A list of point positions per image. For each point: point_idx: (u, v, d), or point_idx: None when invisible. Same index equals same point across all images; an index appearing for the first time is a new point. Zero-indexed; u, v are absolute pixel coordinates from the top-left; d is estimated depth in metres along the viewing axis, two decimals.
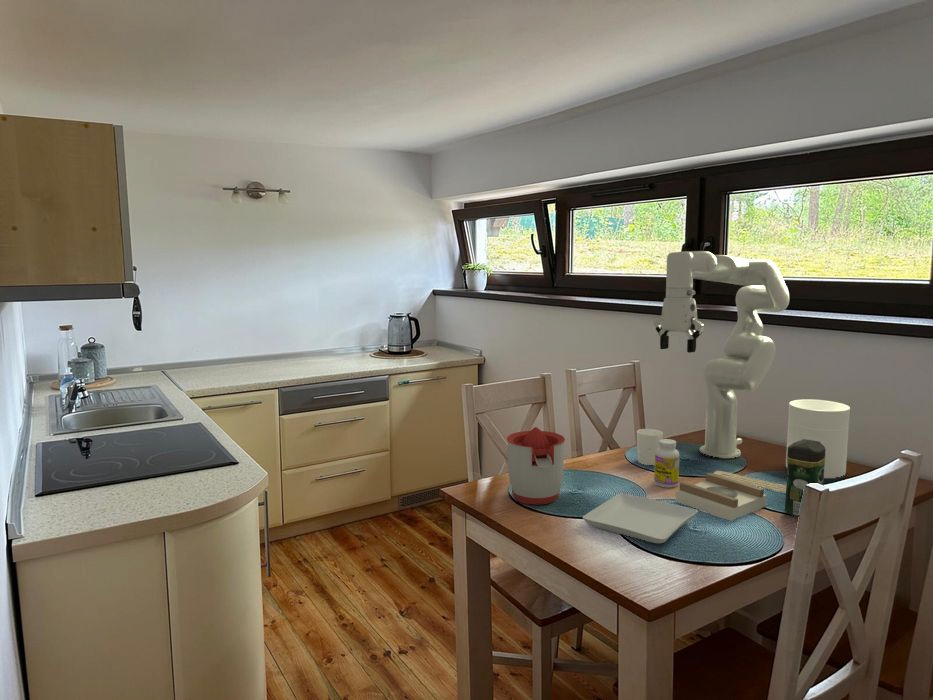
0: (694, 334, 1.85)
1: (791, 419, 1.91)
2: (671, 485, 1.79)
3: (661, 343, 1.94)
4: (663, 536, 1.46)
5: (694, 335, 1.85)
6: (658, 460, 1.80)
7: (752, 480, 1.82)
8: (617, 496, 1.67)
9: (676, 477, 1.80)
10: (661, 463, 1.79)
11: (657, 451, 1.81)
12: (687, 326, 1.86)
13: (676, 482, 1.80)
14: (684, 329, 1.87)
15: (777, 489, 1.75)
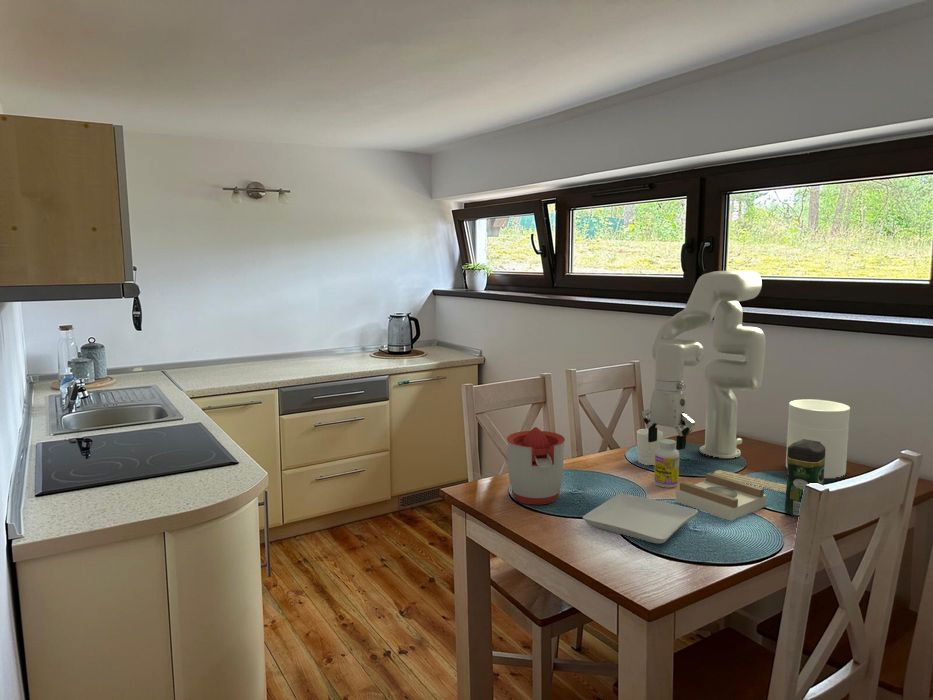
0: (684, 431, 1.74)
1: (791, 419, 1.91)
2: (671, 485, 1.79)
3: (649, 436, 1.83)
4: (663, 536, 1.46)
5: (684, 432, 1.74)
6: (658, 460, 1.80)
7: (752, 480, 1.82)
8: (617, 496, 1.67)
9: (676, 477, 1.80)
10: (661, 463, 1.79)
11: (657, 451, 1.81)
12: (676, 422, 1.74)
13: (676, 482, 1.80)
14: (673, 425, 1.75)
15: (777, 489, 1.75)
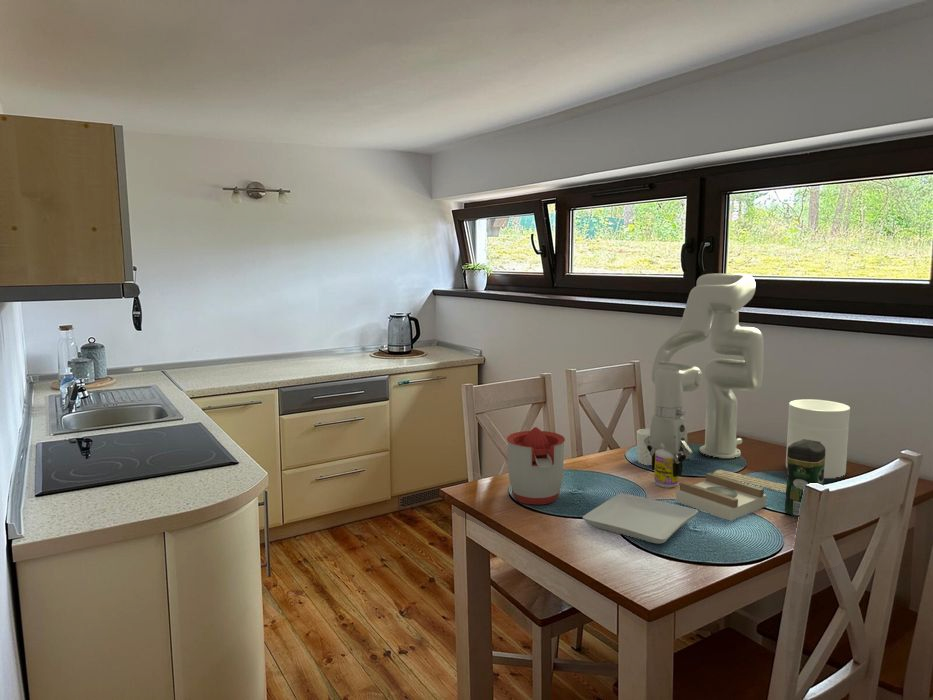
0: (680, 458, 1.76)
1: (791, 419, 1.91)
2: (671, 485, 1.79)
3: (653, 464, 1.84)
4: (663, 536, 1.46)
5: (680, 460, 1.76)
6: (658, 460, 1.80)
7: (753, 479, 1.82)
8: (617, 496, 1.67)
9: (676, 477, 1.79)
10: (661, 463, 1.79)
11: (657, 451, 1.81)
12: (676, 448, 1.76)
13: (676, 482, 1.80)
14: (673, 451, 1.77)
15: (777, 488, 1.76)
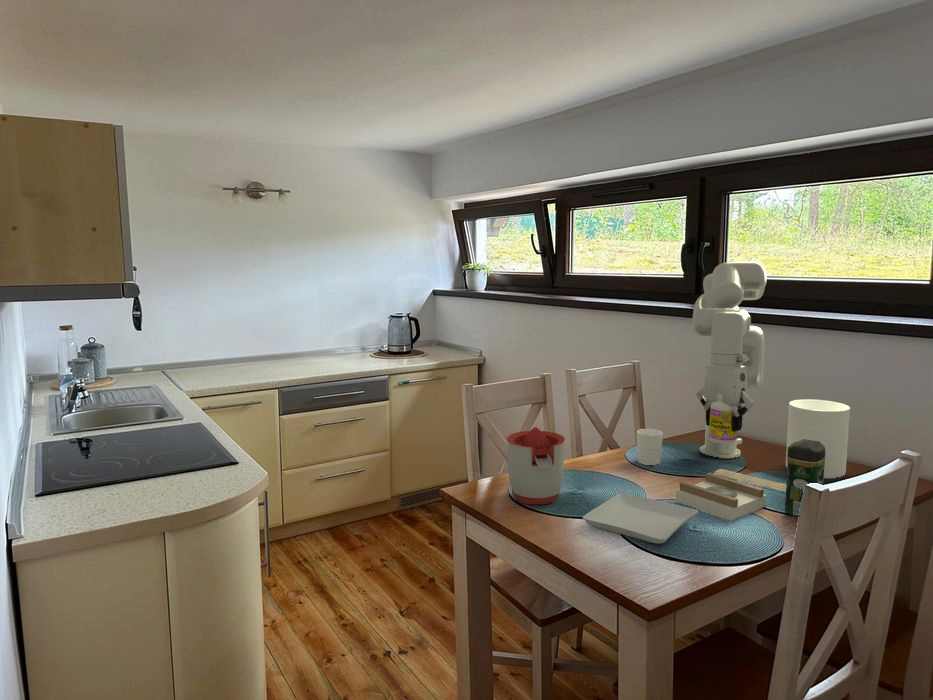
0: (740, 411, 1.59)
1: (791, 419, 1.91)
2: (729, 441, 1.61)
3: (707, 419, 1.66)
4: (663, 536, 1.46)
5: (741, 413, 1.59)
6: (714, 413, 1.62)
7: (753, 479, 1.83)
8: (617, 496, 1.67)
9: (735, 432, 1.62)
10: (718, 417, 1.61)
11: (713, 404, 1.63)
12: (736, 399, 1.58)
13: (734, 438, 1.62)
14: (733, 402, 1.59)
15: (778, 488, 1.76)
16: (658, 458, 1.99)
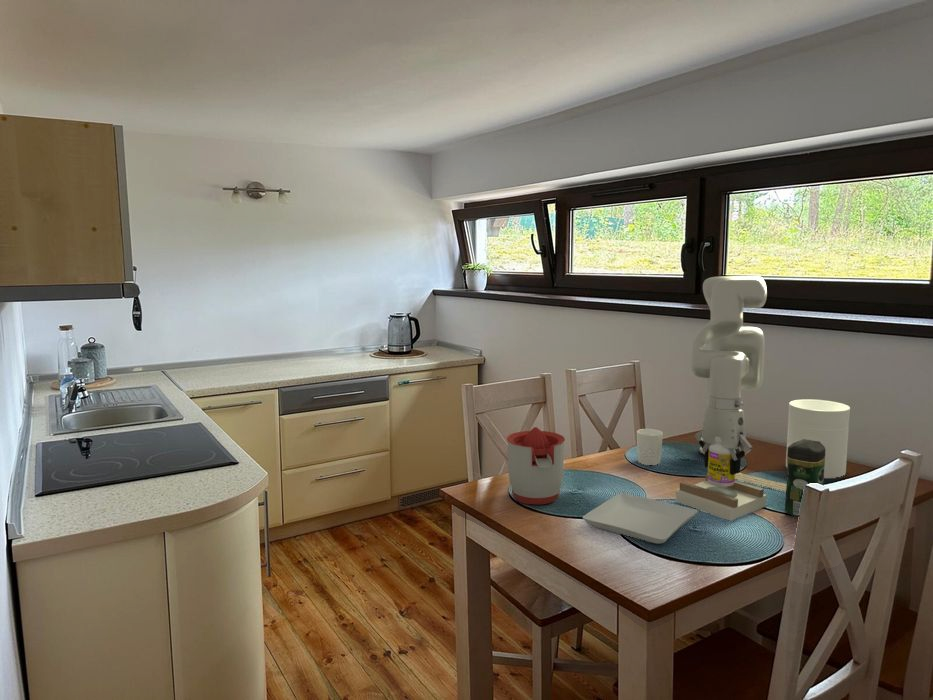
0: (738, 454, 1.60)
1: (791, 419, 1.91)
2: (727, 484, 1.63)
3: (706, 461, 1.68)
4: (663, 536, 1.46)
5: (739, 457, 1.60)
6: (713, 456, 1.64)
7: (754, 478, 1.83)
8: (617, 496, 1.67)
9: (733, 475, 1.63)
10: (716, 460, 1.63)
11: (711, 446, 1.65)
12: (734, 443, 1.60)
13: (733, 480, 1.64)
14: (731, 446, 1.61)
15: (778, 488, 1.76)
16: (658, 458, 1.99)
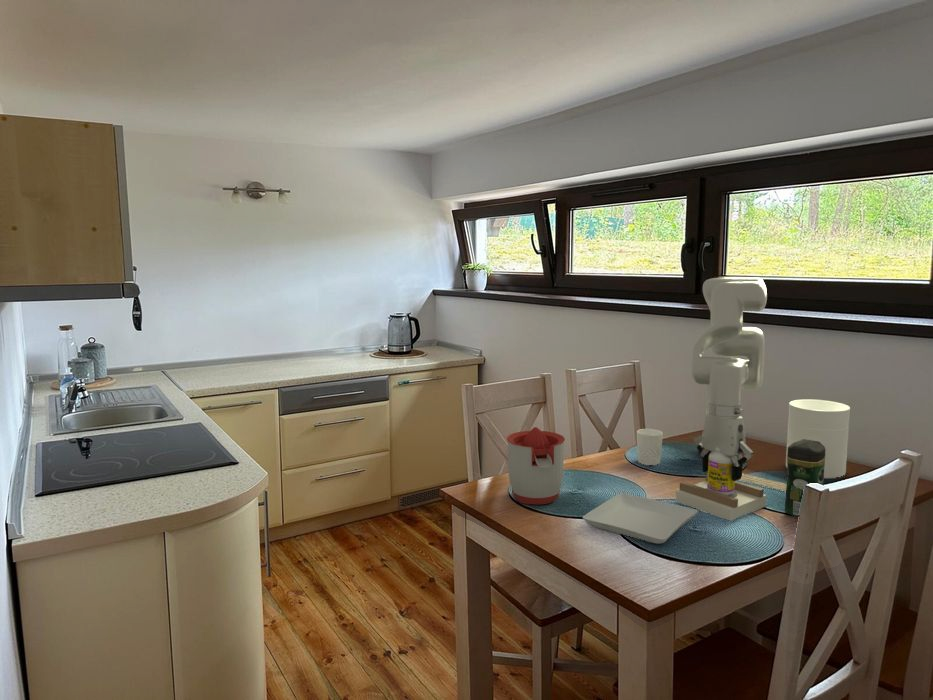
0: (740, 461, 1.60)
1: (791, 419, 1.91)
2: (727, 493, 1.64)
3: (704, 465, 1.68)
4: (663, 536, 1.46)
5: (741, 462, 1.60)
6: (713, 465, 1.64)
7: (754, 478, 1.83)
8: (617, 496, 1.67)
9: (733, 484, 1.64)
10: (716, 469, 1.64)
11: (711, 455, 1.65)
12: (734, 450, 1.60)
13: (732, 489, 1.64)
14: (730, 453, 1.61)
15: (778, 487, 1.76)
16: (658, 458, 1.99)
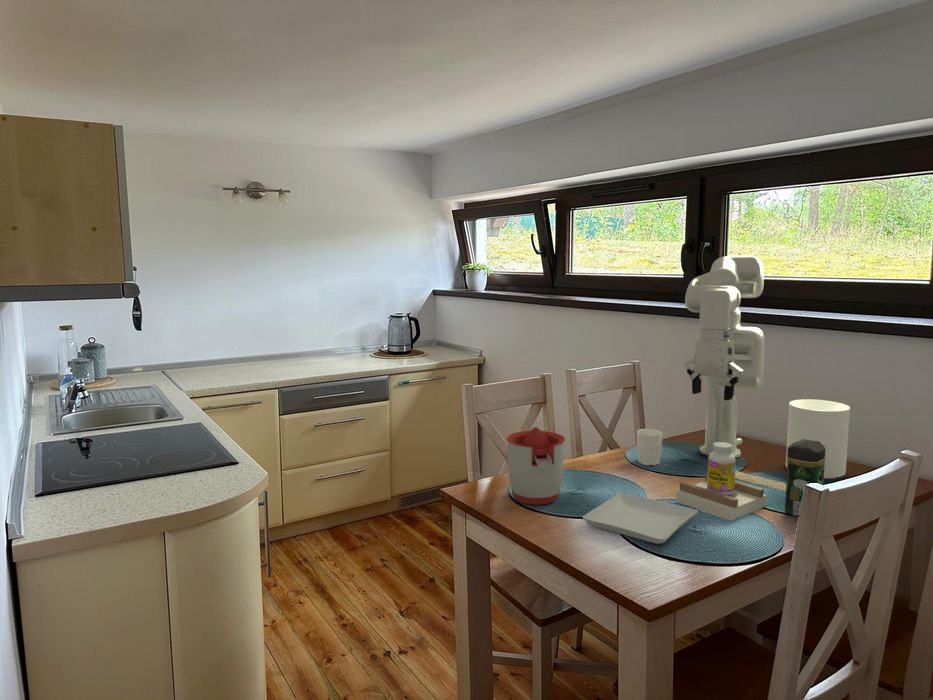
0: (732, 381, 1.67)
1: (791, 419, 1.91)
2: (727, 493, 1.64)
3: (693, 387, 1.76)
4: (663, 536, 1.46)
5: (732, 382, 1.67)
6: (712, 465, 1.64)
7: (755, 478, 1.83)
8: (617, 496, 1.67)
9: (733, 484, 1.64)
10: (716, 469, 1.64)
11: (711, 455, 1.65)
12: (724, 372, 1.67)
13: (732, 489, 1.64)
14: (721, 375, 1.68)
15: (778, 487, 1.77)
16: (658, 458, 1.99)
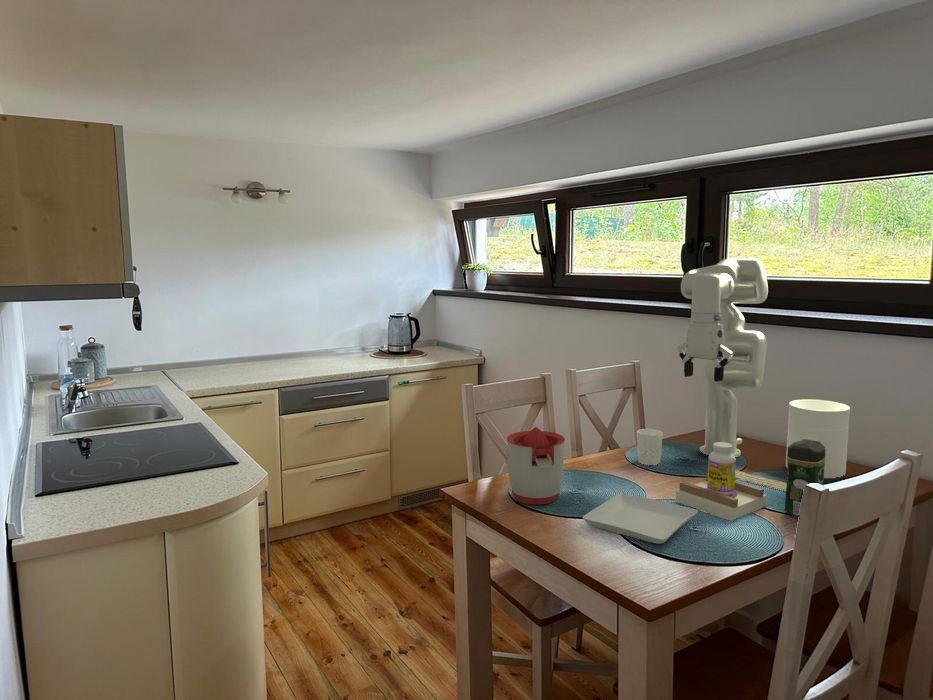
0: (722, 362, 1.74)
1: (791, 419, 1.91)
2: (727, 493, 1.64)
3: (685, 370, 1.83)
4: (663, 536, 1.46)
5: (722, 363, 1.74)
6: (713, 465, 1.64)
7: (755, 477, 1.84)
8: (617, 496, 1.67)
9: (733, 484, 1.64)
10: (716, 469, 1.64)
11: (711, 455, 1.65)
12: (714, 354, 1.75)
13: (732, 489, 1.64)
14: (711, 357, 1.75)
15: (778, 487, 1.77)
16: (658, 458, 1.99)
